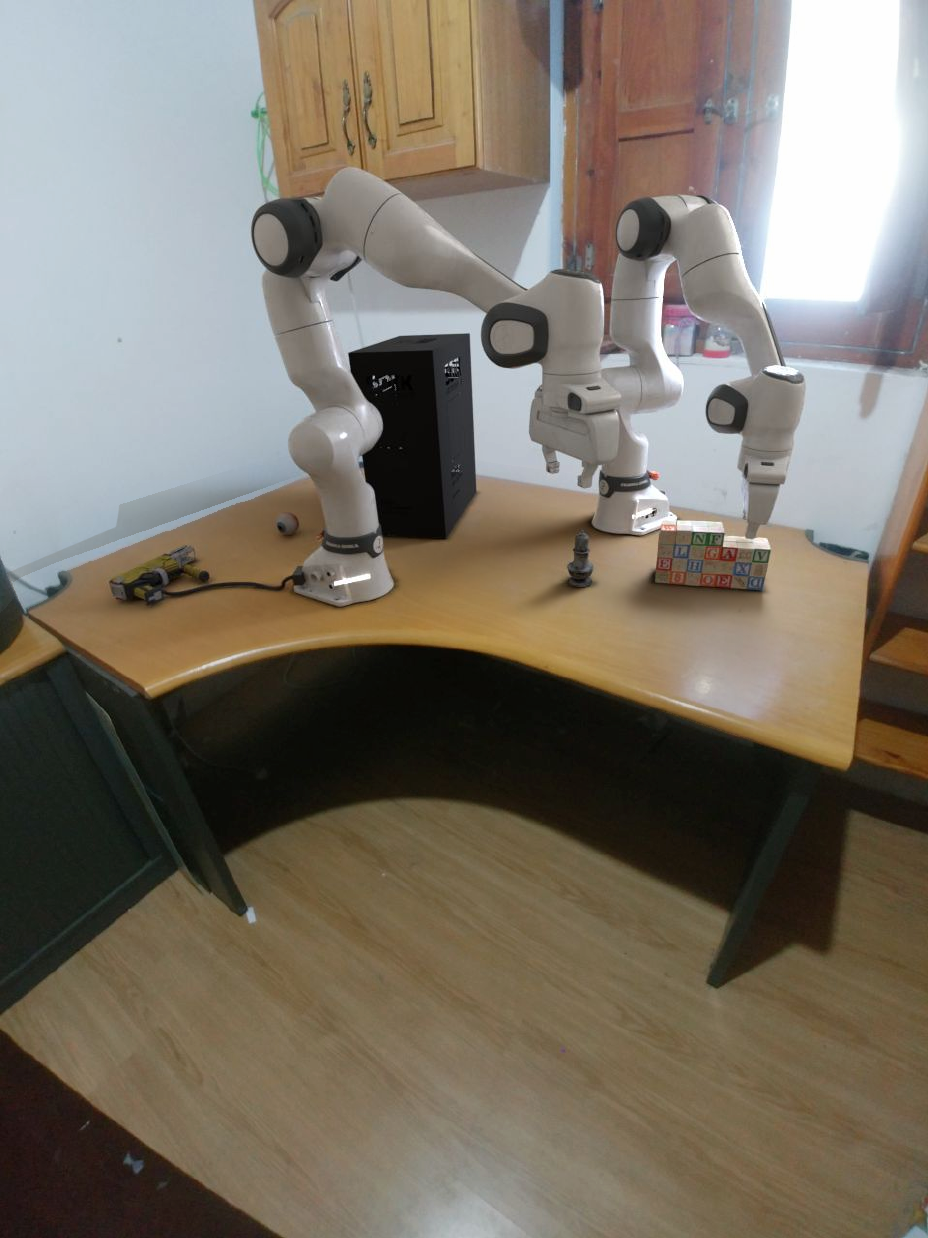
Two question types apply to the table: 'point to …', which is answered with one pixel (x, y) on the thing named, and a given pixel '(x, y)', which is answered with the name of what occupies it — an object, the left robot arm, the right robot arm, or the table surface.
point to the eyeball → (287, 523)
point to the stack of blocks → (709, 556)
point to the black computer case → (419, 431)
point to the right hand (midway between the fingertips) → (748, 527)
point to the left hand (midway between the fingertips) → (567, 479)
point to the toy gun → (155, 576)
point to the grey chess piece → (580, 562)
